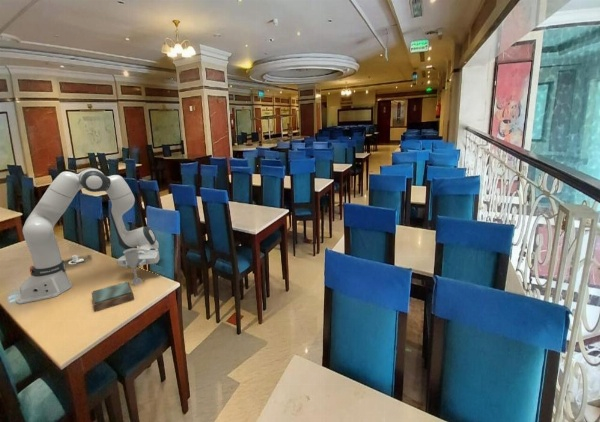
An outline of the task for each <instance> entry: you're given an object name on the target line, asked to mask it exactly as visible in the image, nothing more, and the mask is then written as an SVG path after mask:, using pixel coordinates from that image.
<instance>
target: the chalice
mask: <svg viewBox="0 0 600 422" xmlns="http://www.w3.org/2000/svg"><path fill="white" fill-rule="evenodd" d="M138 248H139V247H134V248H131V249H125V250H123V251H122V253H123V254H124V255H125V258H126V262H127V263H128V265H129V266H130V267H129V268H131V269H132V270H133V276H134V278H133V279H132V281H131V285H132V286H136V285H137V286H138V285H140V284H142V283H143V280H142V279H141V278H140V277H138V273H137V270H136V268H137V267H138V265H137V264H138V261H139V256H138Z"/></svg>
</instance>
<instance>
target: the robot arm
mask: <svg viewBox="0 0 600 422" xmlns="http://www.w3.org/2000/svg"><path fill="white" fill-rule="evenodd" d="M82 189H84V190H86V191H88V192H92V193H98V192H99V193H100V192H105V193H106V194H107V196H108V197H109V200H110V202H111V208H110V209H109V215H110V218H111V221H112V224H113V228H114V230H115V234H116V237H117V242H118V245H119V246H120V247H121V248H123V249H125V250H127V249H131V248H138V256H139V261H138V264H137V267H138V268H141V267H143V266H144V265H153V264H158V263H159V262H160V252H159V247H160V246H159V245H160V243H159V241H157V237H156V235H155V233H154V231H153V230H152V228H150V227H148V226H141V227H138V228H136V229H132V230H127V229H126V226H125V223H124V221H123V215H124V214H126V213H127V212H128V211H130V210H131V209H132V208H133V207H134V206H135V201H136V199H135V196H134V194H133V192H132V190H131V188H130V186H129V184H128V183H127V182H126V180H125V179H124V178H123V176H121V175H119V174H113V175H112V174H111V175H109V176H107V175H105V174H104V173H103V172H102V170H99V169H98V168H95V167H87V168H84V169H82V170H80V171H78V172H76V173H74V172H72V171H66V170H65V171H62V172H60V173H59V174H58V175H57V176H56V177H55V178H54V180H53V181H52V182H51V183H50V185H49V186H48V187H47V189H46V191H45V192H44V194H43V195H42V197H41V198H40V199H39V201H38V202H37V204H36V205H35V207H34V208H33V210H32V211H31V213H30V214H29V215H28V216H27V218H26V220H25V222H24V225H23V227H22V234H23V239H24V241H25V244H26V245H27V248H28V250H29V253H30V255H31V256H30V257H31V260H32V263H33V265H31V266H30V267H29V273H30V276H29V277H28V278H26V280H24V281H23V282H22V284H20V287H19V293H17V295H16V296H15V302H16V304H19V305H22V304H26V303H31V302H36V301H42V300H46V299H51V298H55V297H58V296H60V295H61V294H62V293H64V292H66V291H68V290H69V289H71V288H72V287H73V283H72V282H71V280H70V278H69V277H68V275H67V273H66V264H65V262H64V260H63V258H62V255H61V250H60V247H59V245H58V242H57V238H56V235H55V231H54V228H55V226H56V224H57V223H58V221H59V220H60V218H61V217H62V216H63V214H64V213H65V212H66V211H67V209H68V207H70V204H71V203H72V202H73V199H74V198H75V196H76V195H77V193H79V191H80V190H82ZM116 262H117V266H119V267H125V268H127V269H128V268H131V267H130V266H129V265H128V263H127V262H126V258H125V254H124V255H122V256H120V257H119V258H117V259H116Z"/></svg>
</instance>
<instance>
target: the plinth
mask: <svg viewBox="0 0 600 422" xmlns="http://www.w3.org/2000/svg"><path fill="white" fill-rule="evenodd" d="M91 299H92V304H93V308H94V309H93V310H94V312H98V311H102V310H105V309H107V308H111V307H112V308H113V307H115V306H117V305H120V304H121V305H122V304H124V303H128V302H130V301H131V302H132V301H134V300H135V295H134V293H133V289H132V287H131V284H130V282H129V281H125V282H121V283H118V284H114V285H111V286H110V285H109V286H106V287H103V288H100V289H96V290H93V291H92V292H91Z"/></svg>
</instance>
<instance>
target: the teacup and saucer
mask: <svg viewBox="0 0 600 422" xmlns="http://www.w3.org/2000/svg"><path fill="white" fill-rule="evenodd" d="M83 261H85V260H84V258H79V256H78V254H74V255H72V256H71V260H70V261H68V262H67V264H69V265H76V264H80V263H82V262H83ZM72 262H73V263H72Z"/></svg>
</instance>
